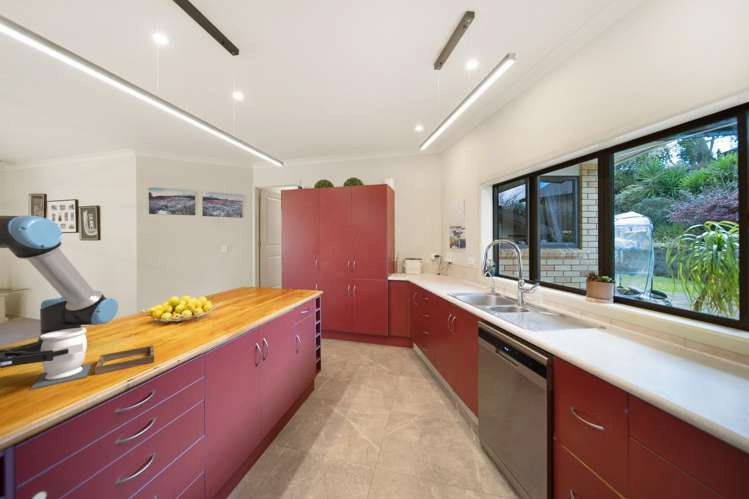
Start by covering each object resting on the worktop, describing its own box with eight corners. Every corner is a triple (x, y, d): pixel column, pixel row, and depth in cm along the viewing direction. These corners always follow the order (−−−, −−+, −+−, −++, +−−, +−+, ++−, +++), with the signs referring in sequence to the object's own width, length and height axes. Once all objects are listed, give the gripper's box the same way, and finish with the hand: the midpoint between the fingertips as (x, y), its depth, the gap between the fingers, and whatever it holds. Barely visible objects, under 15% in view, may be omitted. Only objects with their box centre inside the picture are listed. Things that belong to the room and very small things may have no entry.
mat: (43, 373, 93) (43, 372, 93) (92, 364, 101) (92, 362, 101) (30, 389, 82) (30, 388, 82) (86, 377, 90) (86, 376, 90)
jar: (54, 383, 85) (54, 338, 85) (31, 380, 87) (31, 335, 87) (94, 369, 96) (94, 328, 96) (73, 366, 98) (73, 326, 98)
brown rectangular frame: (100, 361, 103) (100, 355, 103) (153, 351, 114) (153, 345, 114) (95, 375, 92) (95, 368, 92) (154, 362, 103) (154, 355, 103)
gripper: (-29, 366, 84) (72, 346, 101) (-31, 390, 70) (86, 361, 87) (-29, 343, 84) (72, 327, 101) (-31, 362, 70) (86, 339, 87)
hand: (78, 343), depth 94 cm, fingers open, 13 cm apart
